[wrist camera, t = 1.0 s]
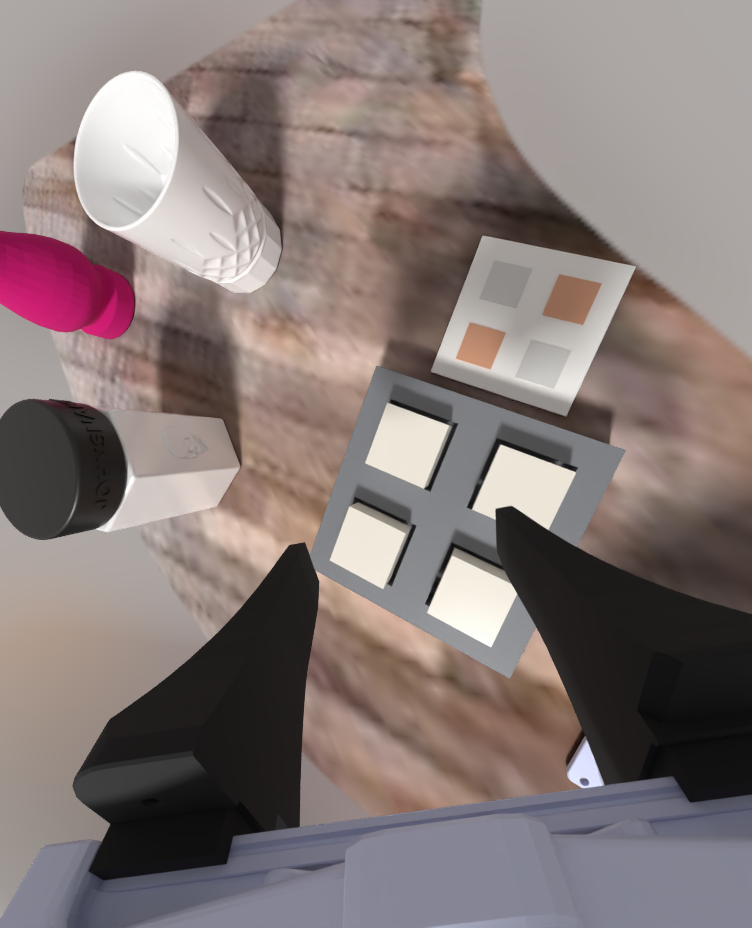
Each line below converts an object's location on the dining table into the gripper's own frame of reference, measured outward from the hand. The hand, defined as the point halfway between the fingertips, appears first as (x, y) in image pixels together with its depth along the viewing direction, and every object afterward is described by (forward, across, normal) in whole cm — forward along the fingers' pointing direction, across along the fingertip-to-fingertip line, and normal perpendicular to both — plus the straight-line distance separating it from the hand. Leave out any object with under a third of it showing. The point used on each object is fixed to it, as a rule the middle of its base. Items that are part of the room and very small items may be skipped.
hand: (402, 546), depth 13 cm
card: (+13, -10, -5) cm, 17 cm away
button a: (+7, -7, +3) cm, 10 cm away
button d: (+8, +2, +6) cm, 11 cm away
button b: (+5, -4, +9) cm, 11 cm away
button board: (+10, -3, +6) cm, 12 cm away
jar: (+18, +17, +2) cm, 25 cm away
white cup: (+23, +8, -13) cm, 28 cm away
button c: (+10, -2, 0) cm, 10 cm away
